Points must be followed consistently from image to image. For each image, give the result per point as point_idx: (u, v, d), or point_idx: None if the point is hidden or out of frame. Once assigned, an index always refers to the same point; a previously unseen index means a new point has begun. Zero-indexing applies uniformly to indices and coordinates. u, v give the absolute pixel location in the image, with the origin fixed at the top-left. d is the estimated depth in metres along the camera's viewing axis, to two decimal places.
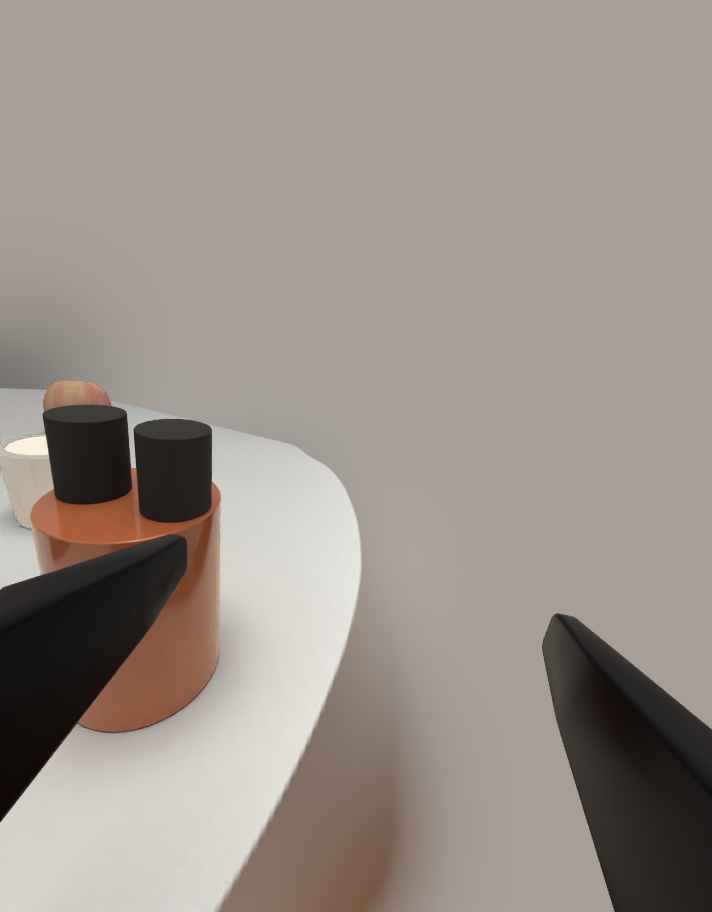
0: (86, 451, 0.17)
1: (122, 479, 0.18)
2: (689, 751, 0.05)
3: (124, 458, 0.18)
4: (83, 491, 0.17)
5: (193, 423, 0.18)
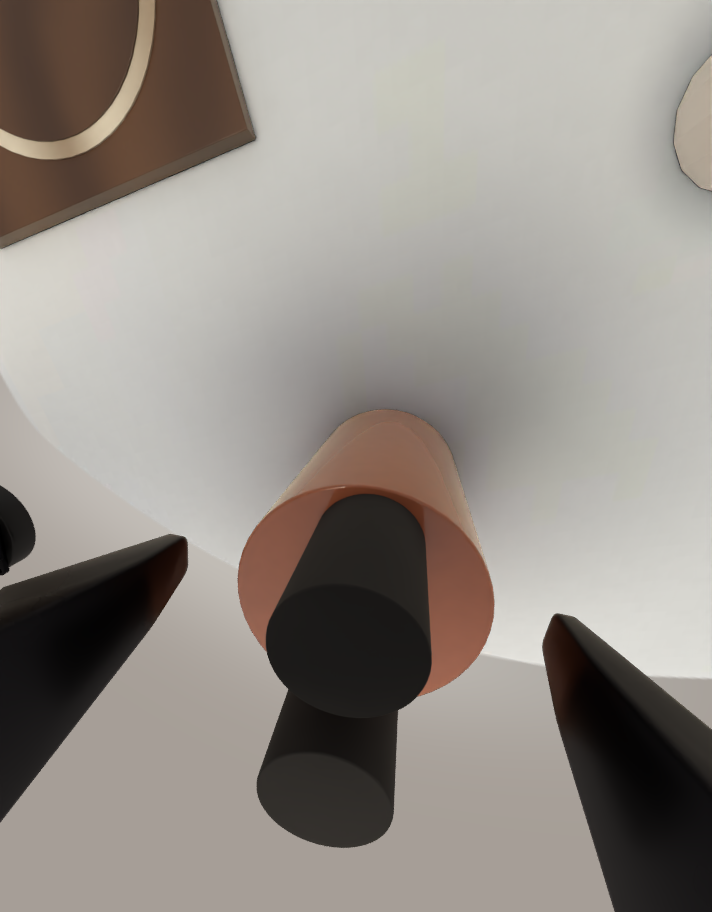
0: None
1: None
2: (689, 751, 0.05)
3: None
4: None
5: (372, 823, 0.08)
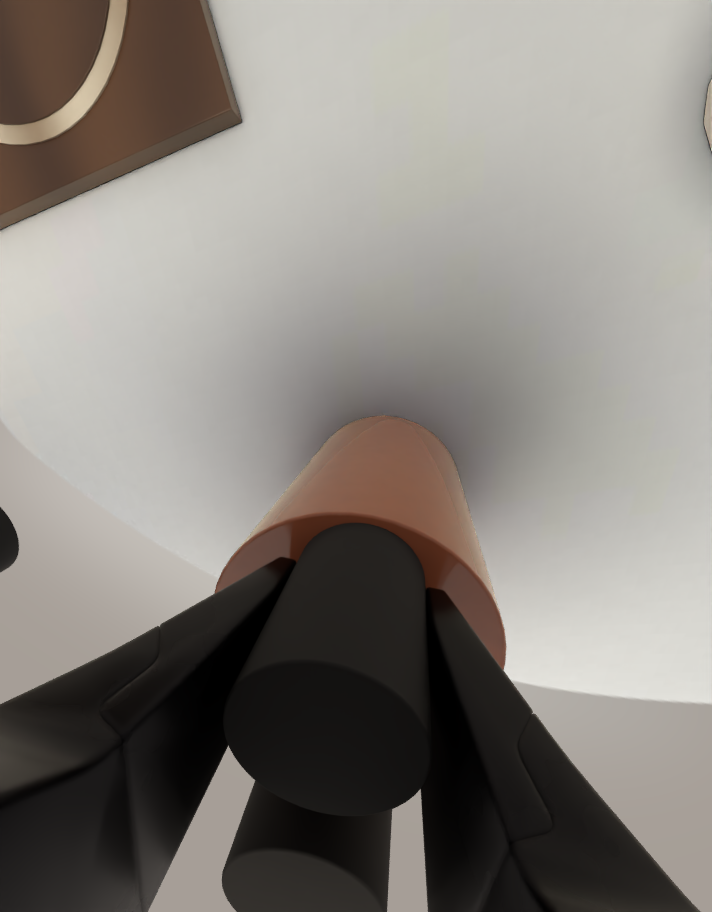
0: None
1: None
2: (474, 701, 0.05)
3: None
4: None
5: None
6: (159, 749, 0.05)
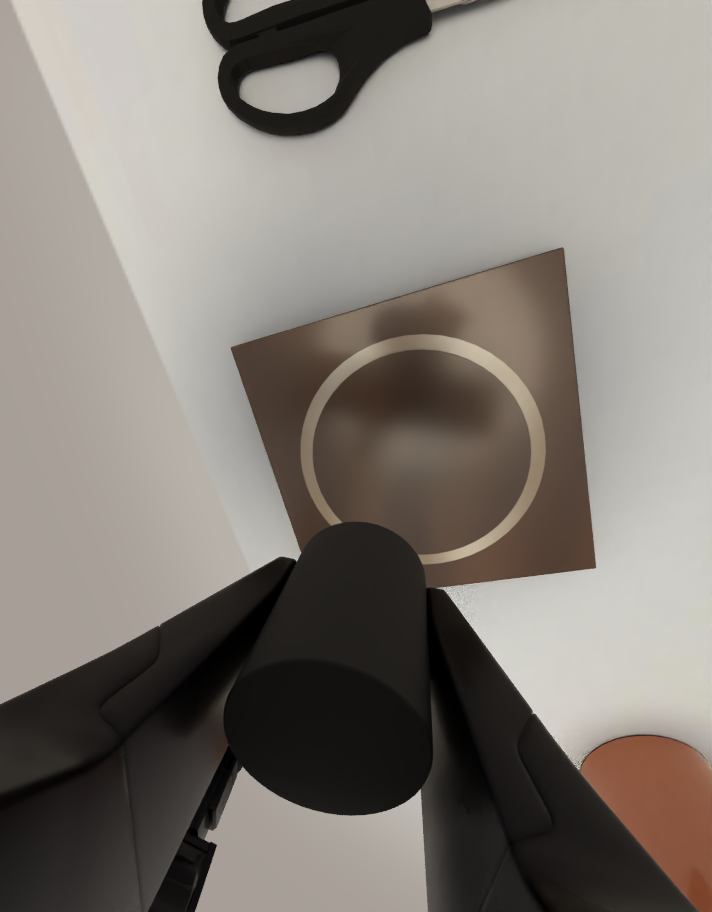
0: None
1: None
2: (474, 701, 0.05)
3: None
4: None
5: None
6: (159, 749, 0.05)
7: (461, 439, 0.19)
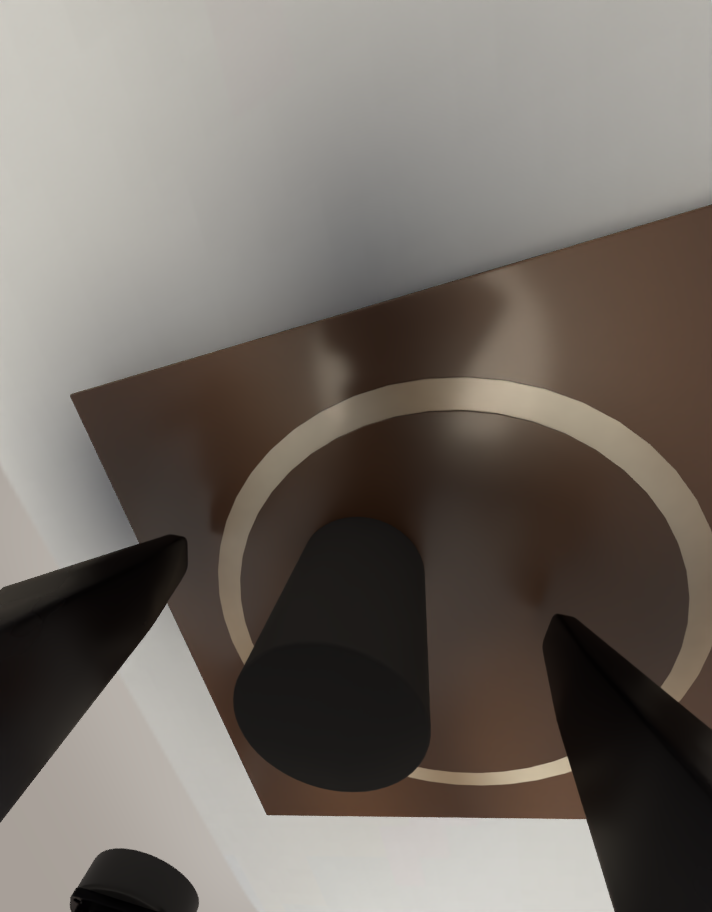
0: None
1: None
2: (689, 751, 0.05)
3: None
4: None
5: None
6: None
7: (538, 590, 0.09)
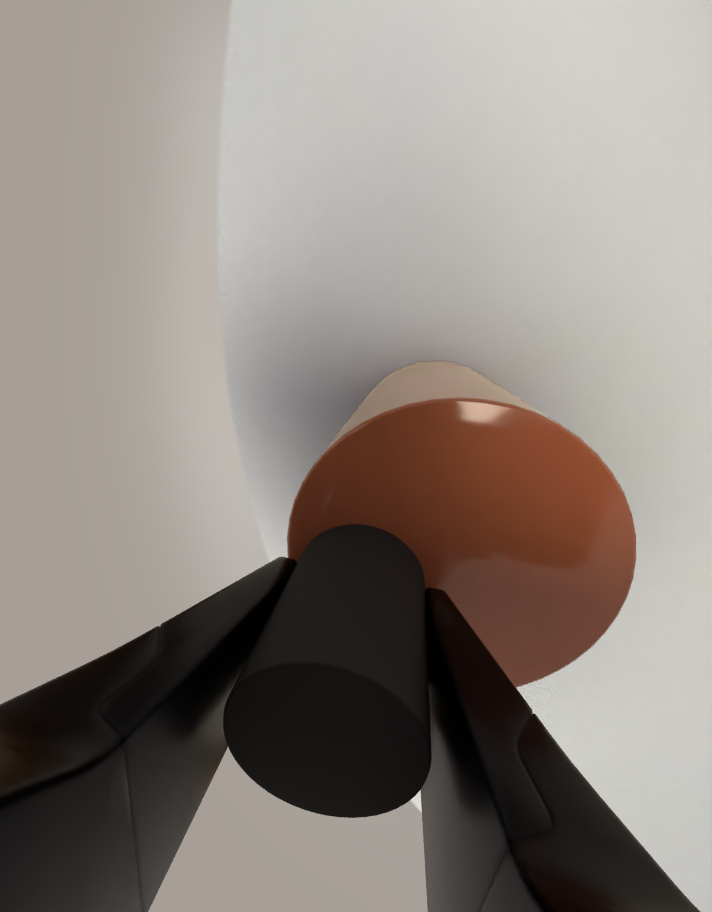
0: None
1: None
2: (474, 701, 0.05)
3: None
4: None
5: (330, 801, 0.06)
6: (160, 749, 0.05)
7: None
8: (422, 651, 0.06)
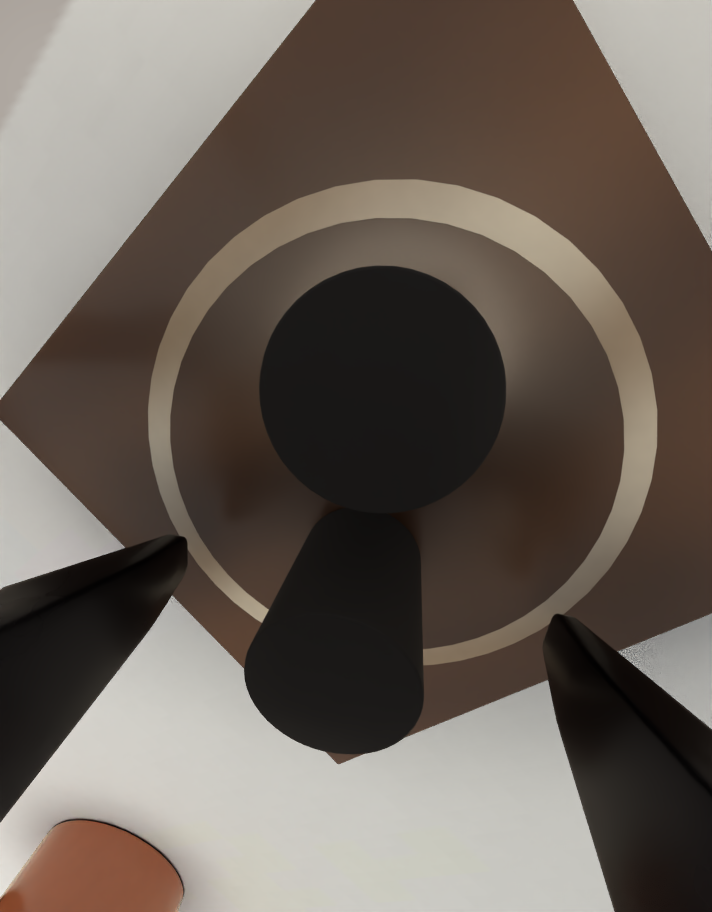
0: None
1: None
2: (689, 751, 0.05)
3: None
4: None
5: (337, 739, 0.07)
6: None
7: (454, 530, 0.10)
8: (417, 612, 0.07)
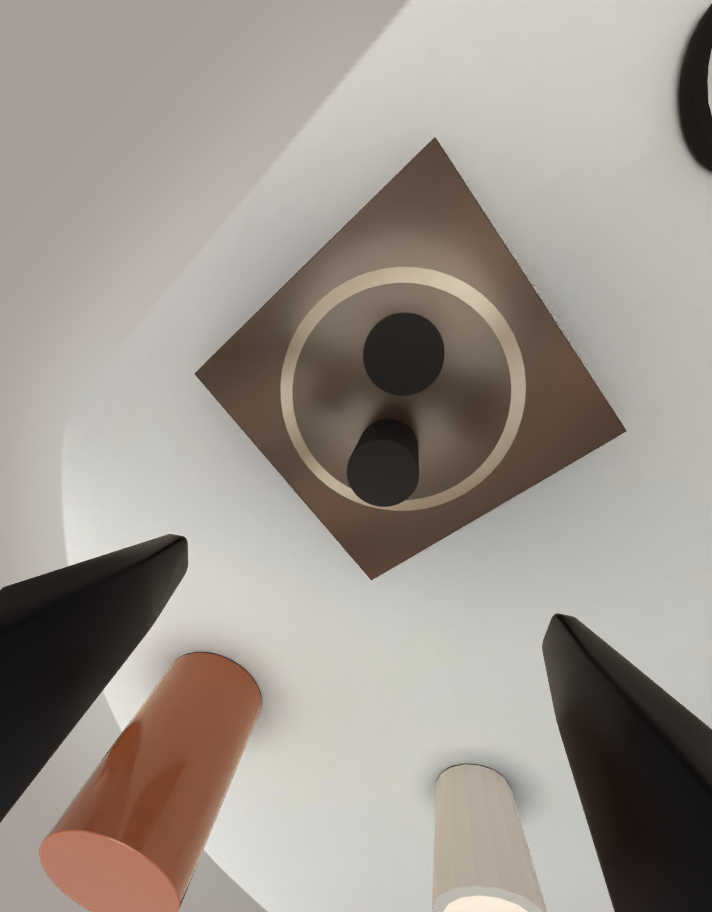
0: None
1: None
2: (689, 751, 0.05)
3: None
4: None
5: (383, 499, 0.17)
6: None
7: (435, 430, 0.19)
8: (416, 452, 0.17)
